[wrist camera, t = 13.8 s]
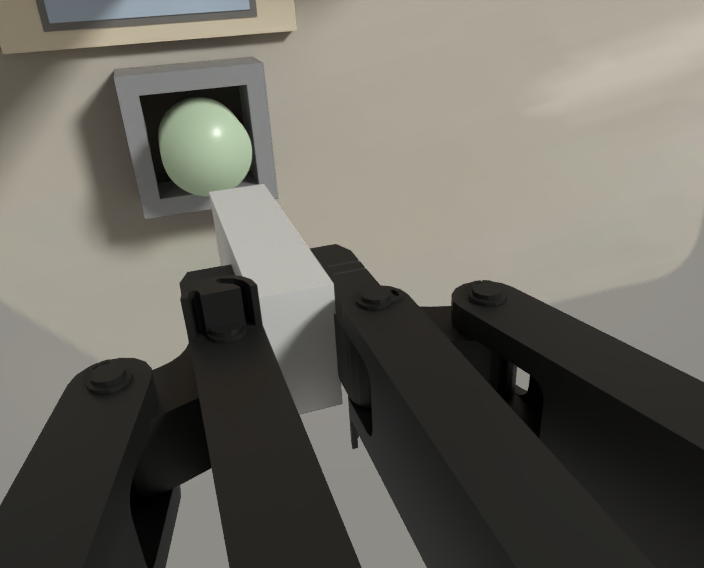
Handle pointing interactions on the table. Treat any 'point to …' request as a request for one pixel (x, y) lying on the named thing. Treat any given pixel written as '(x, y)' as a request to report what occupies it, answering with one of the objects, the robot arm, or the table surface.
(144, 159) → the button collar
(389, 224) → the table surface
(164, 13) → the sheet
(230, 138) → the button
